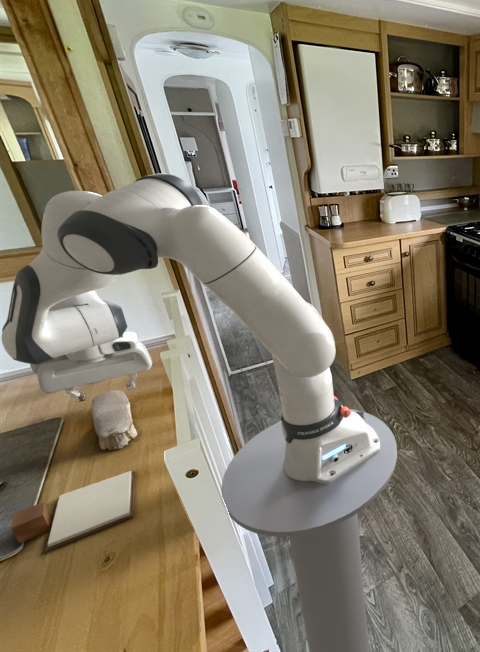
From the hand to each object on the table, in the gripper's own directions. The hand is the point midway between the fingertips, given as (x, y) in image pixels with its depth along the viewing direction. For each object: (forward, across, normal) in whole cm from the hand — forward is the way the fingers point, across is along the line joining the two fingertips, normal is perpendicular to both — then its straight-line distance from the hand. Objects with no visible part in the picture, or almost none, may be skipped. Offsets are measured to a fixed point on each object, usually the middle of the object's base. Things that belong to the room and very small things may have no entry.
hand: (107, 394), depth 96 cm
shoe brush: (+10, 0, 0) cm, 10 cm away
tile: (+10, -2, -30) cm, 32 cm away
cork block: (+9, -10, -30) cm, 33 cm away
